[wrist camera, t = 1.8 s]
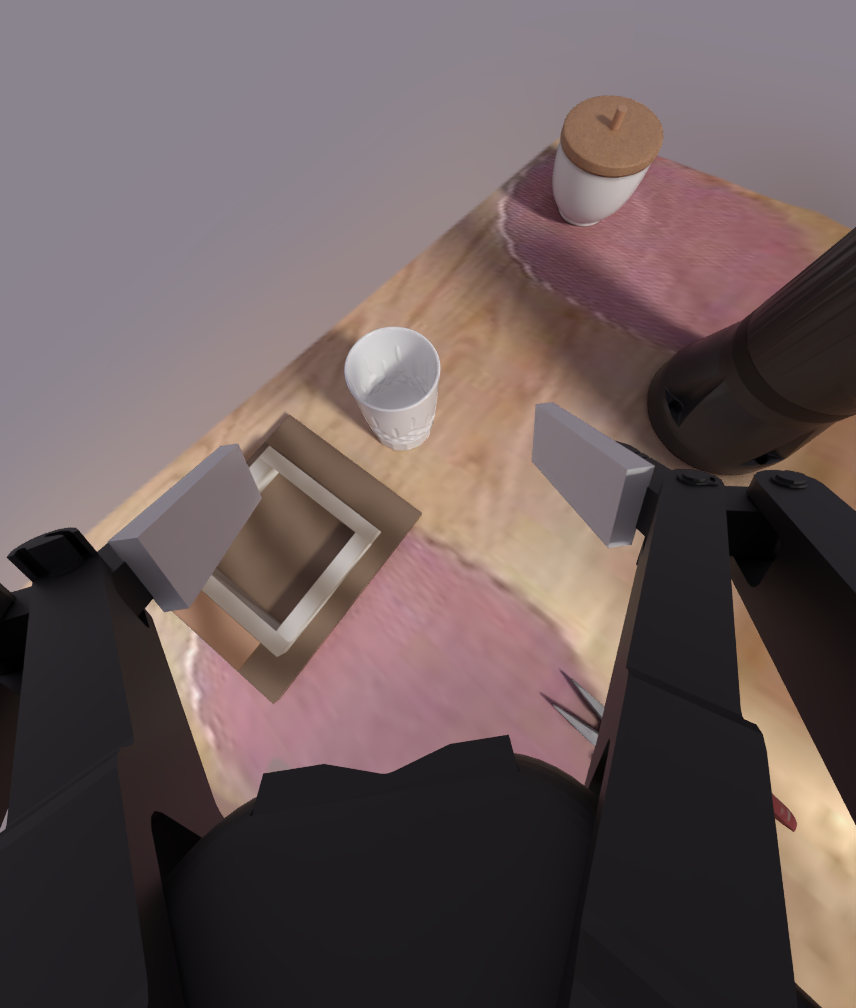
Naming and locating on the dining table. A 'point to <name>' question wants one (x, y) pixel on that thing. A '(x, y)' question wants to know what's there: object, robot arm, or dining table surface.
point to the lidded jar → (603, 157)
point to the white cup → (395, 384)
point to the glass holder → (297, 558)
